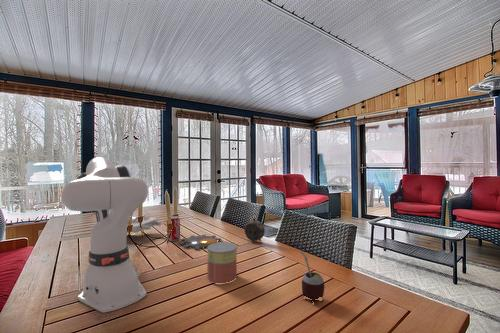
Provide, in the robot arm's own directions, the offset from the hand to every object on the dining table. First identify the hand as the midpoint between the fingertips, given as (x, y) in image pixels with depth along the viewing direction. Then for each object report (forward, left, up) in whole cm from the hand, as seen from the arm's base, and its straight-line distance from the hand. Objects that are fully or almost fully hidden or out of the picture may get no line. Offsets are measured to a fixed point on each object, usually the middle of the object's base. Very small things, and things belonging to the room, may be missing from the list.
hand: (155, 225), depth 146 cm
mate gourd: (-98, -1, -7) cm, 99 cm away
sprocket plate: (-26, -12, -7) cm, 30 cm away
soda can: (-11, -5, -7) cm, 14 cm away
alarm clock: (-47, -32, -7) cm, 58 cm away
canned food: (-65, +8, -7) cm, 66 cm away
